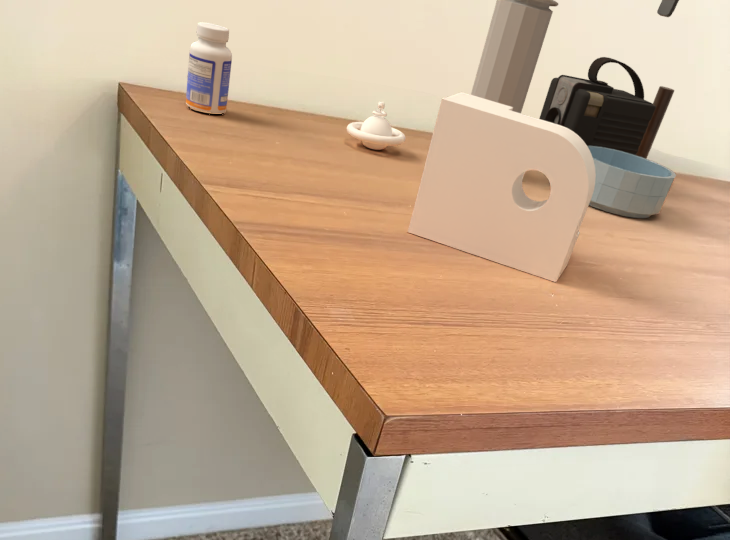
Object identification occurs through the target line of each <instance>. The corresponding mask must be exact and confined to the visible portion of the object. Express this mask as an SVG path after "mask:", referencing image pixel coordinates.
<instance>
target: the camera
mask: <svg viewBox="0 0 730 540" xmlns="http://www.w3.org/2000/svg"><path fill="white" fill-rule="evenodd" d="M610 63H611V64H612V63H614V64H618V65H620V67H622V68H623V69H624V70H625V71H626V72H627V74H628V76H629V77H630V79H631V81H632V85H633V88H634V94H633V93H630V92H629V91H626V90H623V89H618V88H615V87H613V86H611V85H609V83H608V82H606V81H604V80H598V74H599V71H600V69H601V68H602V67H603V66H604V65H606V64H610ZM655 109H656V106H655V105H653V102H651V101H648V100H647V99H645V90H644V85H643V82H642V81H641V78H640V76H639V75H638V74H637V72H636V71H635V70H634V69H633V67H631V66H629V65H628V64H626V63H625V62H623V61H620V60H618V59H615V58H612V57H609V56H608V57H607V56H600V57H597V58H596V59H594V60H593V61H592V63H591V64H590V66H589V68H588V71H587V78H582V77H577V76H572V75H567V74H561V75H559V76H558V77H553V78H552V79H551V81H550V84H549V87H548V90H547V93H546V96H545V99H544V102H543V106H542V109H541V112H540V115H539V118H538V119H541V120H544V121H548V122H551V123H554V124H558V125H561V126H563V127H566V128H568V129H570V130H572V131H573V132H575V133H576V134H577V135H578V136H579V137H580V138H581V139H582V140H583V141H584V142H585V144H586V145H587V146H589V145H590V146H600V147H605V148H611V149H615V150H619V151H623V152H627V153H631V154H634V155H636V153H637V152H638V149H639V146H640V145H641V141H642V140H643V136H644V134H645V133H646V129H647V127H648V124H649V121H650V120H651V119H652V116H653V114H654V111H655Z"/></svg>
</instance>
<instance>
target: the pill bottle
mask: <svg viewBox="0 0 730 540" xmlns="http://www.w3.org/2000/svg"><path fill="white" fill-rule="evenodd" d="M196 37H197V40H196V41H194V42H192V43H191V44H190V46H189V54H188V67H187V68H188V69H187V81H186V93H185V105H186V104H187V105H188V106H190V107H192V108H195V109H198V110H202V111H207V112H211V113H224V112H225V113H226V112H227V107H228V99H229V90H230V80H231V72H232V71H231V70H232V60H233V53H232V51H231V49H230V48H229V47H227V43H228V42H229V39H230V29H229V28H227V27H226V26H223V25H220V24H216V23H213V22H212V23H211V22H206V21H200V22H197V25H196ZM225 113H224V114H225Z"/></svg>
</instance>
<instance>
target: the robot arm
mask: <svg viewBox="0 0 730 540" xmlns="http://www.w3.org/2000/svg"><path fill="white" fill-rule="evenodd" d="M679 1H680V0H661V1H660V4H659V6H658V9H657V10H656V11H657V12H656V13H657V14H658V16H660V17H664V18H670V17H671V16H672V15H673V13H674V12H675V10H676V7H677V6H678V4H679Z"/></svg>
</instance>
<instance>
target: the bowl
mask: <svg viewBox="0 0 730 540" xmlns="http://www.w3.org/2000/svg"><path fill="white" fill-rule="evenodd" d="M588 148H589V150H590V152H591V154H592V157H593V160H594V165H595V173H596V178H595V187H594V192H593V195H592V198H591V201H590V203H589V206H590V207H592V208H594V209H597V210H600V211H603V212H606V213H609V214H613V215H618V216H621V217H627V218H633V219H648V218H650V217H652V216H653V215H659V214H660V213H661V212H662V210H663V208H664V205H665V203H666V200H667V198H668V196H669V193H670V192H671V189H672V186H673V185H674V182H675V180H676V178H677V173H675V171H674V170H671V169H670V168H669V167H667V166H665V165H664V164H661V163H659V162H656V161H653V160H652V159H648V158H647V159H646V158H643V157H640V156H637V155H634V154H631V153H627V152H623V151H619V150H615V149H611V148H605V147H600V146H590V145H589V146H588Z"/></svg>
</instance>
